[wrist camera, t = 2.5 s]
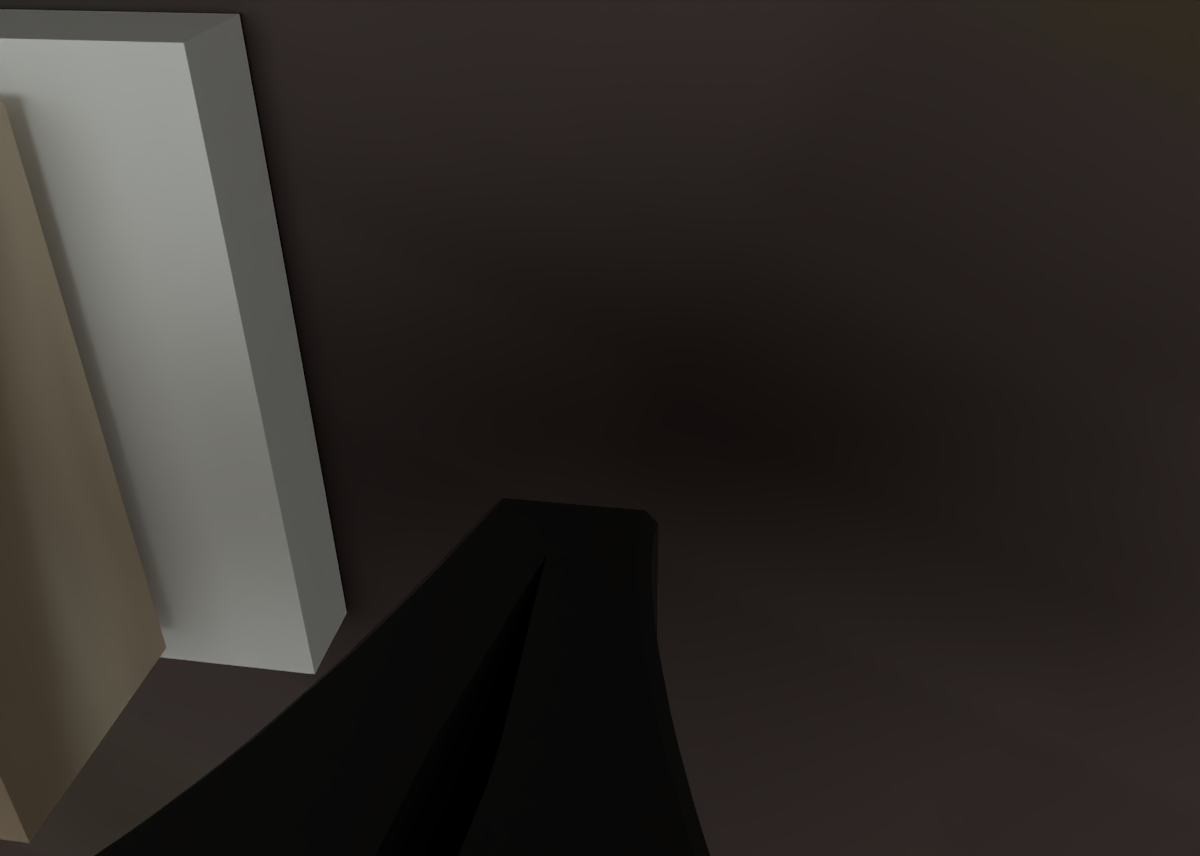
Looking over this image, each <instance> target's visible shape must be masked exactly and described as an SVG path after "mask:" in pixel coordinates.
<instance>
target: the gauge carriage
mask: <svg viewBox="0 0 1200 856" xmlns="http://www.w3.org/2000/svg"><path fill="white" fill-rule="evenodd" d="M165 649H166V645H165V641H164V638H163V635H162V631H161V628H160V624H159V621H158V618H157V614H156V611H155V608H154V604H153V601H152V598H151V594H150V591H149V588H148V584H147V581H146V577H145V574H144V571H143V567H142V564H141V561H140V557H139V554H138V551H137V547H136V544H135V541H134V537H133V534H132V530H131V527H130V524H129V520H128V517H127V514H126V510H125V507H124V504H123V500H122V497H121V494H120V490H119V487H118V483H117V480H116V477H115V473H114V470H113V467H112V463H111V460H110V457H109V453H108V450H107V447H106V443H105V440H104V436H103V433H102V430H101V426H100V423H99V420H98V416H97V413H96V410H95V406H94V403H93V400H92V396H91V393H90V389H89V386H88V383H87V379H86V376H85V373H84V369H83V366H82V363H81V359H80V356H79V353H78V349H77V346H76V342H75V339H74V336H73V332H72V329H71V326H70V322H69V319H68V316H67V312H66V309H65V306H64V302H63V299H62V295H61V292H60V289H59V285H58V282H57V279H56V275H55V272H54V269H53V265H52V262H51V259H50V255H49V252H48V248H47V245H46V242H45V238H44V235H43V232H42V228H41V225H40V222H39V218H38V215H37V212H36V208H35V205H34V201H33V198H32V195H31V191H30V188H29V185H28V181H27V178H26V175H25V171H24V168H23V165H22V161H21V158H20V154H19V151H18V148H17V144H16V141H15V138H14V134H13V131H12V128H11V124H10V121H9V118H8V114H7V111H6V107H5V104H4V101H3V100H0V839H3V840H10V841H17V842H25V843H30V842H31V841H32V839H33V838H34V836H35V835H36V833H37V832H38V831H39V829H40V828H41V826H42V825H43V823H44V822H45V821H46V819H47V818H48V816H49V815H50V813H51V812H52V811H53V809H54V808H55V806H56V805H57V803H58V802H59V801H60V799H61V798H62V796H63V795H64V793H65V792H66V791H67V789H68V788H69V786H70V785H71V783H72V782H73V781H74V779H75V778H76V776H77V775H78V773H79V772H80V771H81V769H82V768H83V766H84V765H85V763H86V762H87V761H88V759H89V758H90V756H91V755H92V753H93V752H94V751H95V749H96V748H97V746H98V745H99V743H100V742H101V741H102V739H103V738H104V736H105V735H106V733H107V732H108V730H109V729H110V728H111V726H112V725H113V723H114V722H115V720H116V719H117V718H118V716H119V715H120V713H121V712H122V710H123V709H124V708H125V706H126V705H127V703H128V702H129V700H130V699H131V698H132V696H133V695H134V693H135V692H136V690H137V689H138V688H139V686H140V685H141V683H142V682H143V680H144V679H145V678H146V676H147V675H148V673H149V672H150V670H151V669H152V668H153V666H154V665H155V663H156V662H157V660H158V659H159V658H160V656H161V655H162V653H163V652H164V650H165Z"/></svg>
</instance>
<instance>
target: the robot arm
mask: <svg viewBox="0 0 1200 856" xmlns="http://www.w3.org/2000/svg"><path fill="white" fill-rule="evenodd" d="M657 570H658V523H657V522H656V521H655V520H654V519H653V518H652V517H651V516H650V515H649V514H648V513H647V512H646V511H644V510H633V509H621V508H610V507H598V506H586V505H575V504H563V503H552V502H540V501H529V500H517V499H506V498H503V499H502V500H501V501H500V502H498V503H497V504H496V505H495V506H493V507H492V508H491V509H490V510H489V511H488V512H487V513H486V514H485V515H484V516H483V517H482V519H481V520H480V521H479V522H478V523H477V524H476V525H475V526H474V527H473V528H472V529H471V530H470V531H469V532H468V533H467V534H466V536H465V537H464V538H463V539H462V540H461V541H460V542H459V543H458V544H457V545H456V546H455V547H454V548H453V549H452V550H451V551H450V553H449V554H448V555H447V556H446V557H445V558H444V559H443V560H442V561H441V562H440V563H439V564H438V565H437V566H436V567H435V568H434V569H433V570H432V571H431V572H430V573H429V574H428V575H427V576H426V577H425V578H424V579H423V580H422V582H421V583H420V584H419V585H418V586H417V587H416V588H415V589H414V590H413V591H412V592H411V593H410V594H409V595H408V596H407V597H406V598H405V599H404V600H403V601H402V602H401V603H400V604H399V605H398V606H397V607H396V608H395V609H394V610H392V611H391V612H390V613H389V614H388V615H387V616H386V617H385V618H384V619H383V620H382V621H381V622H380V623H379V624H378V625H377V626H376V627H375V628H374V629H373V630H372V631H371V632H370V633H369V634H368V635H367V636H366V637H365V638H364V639H363V640H362V641H361V642H359V643H358V644H357V645H356V646H355V647H354V648H353V649H352V650H351V651H350V652H349V653H348V654H347V655H346V656H345V657H344V658H343V659H342V660H341V661H339V662H338V663H337V664H336V665H335V666H334V667H333V668H332V669H331V670H330V671H328V672H327V673H326V674H325V675H324V676H323V677H322V678H320V679H319V680H318V681H317V682H316V683H315V684H314V685H312V686H311V687H310V688H309V689H308V690H307V691H306V692H304V693H303V694H302V695H301V696H300V697H299V698H298V699H296V700H295V701H294V702H293V703H292V704H291V705H290V706H288V707H287V708H286V709H285V710H284V711H283V712H282V713H280V714H279V715H278V716H277V717H276V718H275V719H274V720H272V721H271V722H270V723H269V724H268V725H267V726H266V727H264V728H263V729H262V730H261V731H260V732H259V733H257V734H256V735H255V736H254V737H253V738H251V739H250V740H249V741H248V742H246V743H245V744H244V745H243V746H241V747H240V748H239V749H238V750H237V751H235V752H234V753H233V754H232V755H230V756H229V757H228V758H227V759H225V760H224V761H223V762H222V763H220V764H219V765H218V766H217V767H215V768H214V769H213V770H211V771H210V772H209V773H208V774H206V775H205V776H204V777H203V778H201V779H200V780H199V781H197V782H196V783H195V784H194V785H192V786H191V787H189V788H188V789H187V790H185V791H184V792H183V793H181V794H180V795H179V796H177V797H176V798H175V799H173V800H172V801H171V802H169V803H168V804H167V805H165V806H164V807H163V808H161V809H160V810H159V811H157V812H156V813H155V814H153V815H152V816H151V817H149V818H148V819H147V820H145V821H144V822H142V823H141V824H140V825H138V826H137V827H135V828H134V829H133V830H131V831H130V832H128V833H127V834H125V835H124V836H122V837H121V838H120V839H118V840H117V841H115V842H114V843H112V844H111V845H109V846H108V847H106V848H105V849H103V850H102V851H100V852H99V853H98V854H96V855H95V856H710V854H709V851H708V848H707V845H706V842H705V839H704V835H703V832H702V829H701V826H700V822H699V819H698V816H697V812H696V809H695V806H694V802H693V799H692V795H691V792H690V788H689V784H688V780H687V777H686V773H685V769H684V765H683V762H682V758H681V754H680V750H679V747H678V743H677V739H676V734H675V730H674V726H673V721H672V717H671V713H670V708H669V703H668V698H667V692H666V687H665V682H664V676H663V671H662V666H661V660H660V655H659V650H658V643H657Z"/></svg>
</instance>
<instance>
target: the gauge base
mask: <svg viewBox="0 0 1200 856" xmlns="http://www.w3.org/2000/svg"><path fill="white" fill-rule="evenodd" d="M0 100H3V101H4V104H5V107H6V111H7V114H8V118H9V121H10V124H11V128H12V131H13V134H14V138H15V141H16V144H17V148H18V151H19V154H20V158H21V161H22V165H23V168H24V171H25V175H26V178H27V181H28V185H29V188H30V191H31V195H32V198H33V201H34V205H35V208H36V212H37V215H38V218H39V222H40V225H41V228H42V232H43V235H44V238H45V242H46V245H47V248H48V252H49V255H50V259H51V262H52V265H53V269H54V272H55V275H56V279H57V282H58V285H59V289H60V292H61V295H62V299H63V302H64V306H65V309H66V312H67V316H68V319H69V322H70V326H71V329H72V332H73V336H74V339H75V342H76V346H77V349H78V353H79V356H80V359H81V363H82V366H83V369H84V373H85V376H86V379H87V383H88V386H89V389H90V393H91V396H92V400H93V403H94V406H95V410H96V413H97V416H98V420H99V423H100V426H101V430H102V433H103V436H104V440H105V443H106V447H107V450H108V453H109V457H110V460H111V463H112V467H113V470H114V473H115V477H116V480H117V483H118V487H119V490H120V494H121V497H122V500H123V504H124V507H125V510H126V514H127V517H128V520H129V524H130V527H131V530H132V534H133V537H134V541H135V544H136V547H137V551H138V554H139V557H140V561H141V564H142V567H143V571H144V574H145V577H146V581H147V584H148V588H149V591H150V594H151V598H152V601H153V604H154V608H155V611H156V614H157V618H158V621H159V624H160V628H161V631H162V635H163V638H164V641H165V645H166V649H165V650H164V652H163V653H162V655H161V656H160V657H163V658H172V659H181V660H190V661H199V662H208V663H217V664H226V665H235V666H244V667H253V668H263V669H272V670H281V671H290V672H299V673H308V674H315V673H316V671H317V669H318V667H319V665H320V663H321V661H322V659H323V657H324V656H325V654H326V652H327V650H328V648H329V646H330V644H331V642H332V640H333V638H334V636H335V635H336V633H337V631H338V629H339V627H340V625H341V623H342V621H343V619H344V617H345V616H346V614H347V611H346V605H345V600H344V594H343V589H342V583H341V578H340V572H339V566H338V561H337V555H336V550H335V544H334V539H333V533H332V527H331V522H330V516H329V511H328V505H327V500H326V494H325V488H324V483H323V477H322V472H321V466H320V461H319V455H318V449H317V444H316V438H315V433H314V427H313V422H312V416H311V410H310V405H309V399H308V394H307V388H306V383H305V377H304V371H303V366H302V360H301V355H300V349H299V344H298V338H297V332H296V327H295V321H294V316H293V310H292V305H291V299H290V293H289V288H288V282H287V277H286V271H285V266H284V260H283V254H282V249H281V243H280V238H279V232H278V227H277V221H276V215H275V210H274V204H273V199H272V193H271V188H270V182H269V176H268V171H267V165H266V160H265V154H264V149H263V143H262V137H261V132H260V126H259V121H258V115H257V110H256V104H255V98H254V93H253V87H252V82H251V76H250V71H249V65H248V59H247V54H246V48H245V43H244V37H243V32H242V26H241V20H240V15H239V14H219V13H170V12H120V11H71V10H21V9H0Z"/></svg>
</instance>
